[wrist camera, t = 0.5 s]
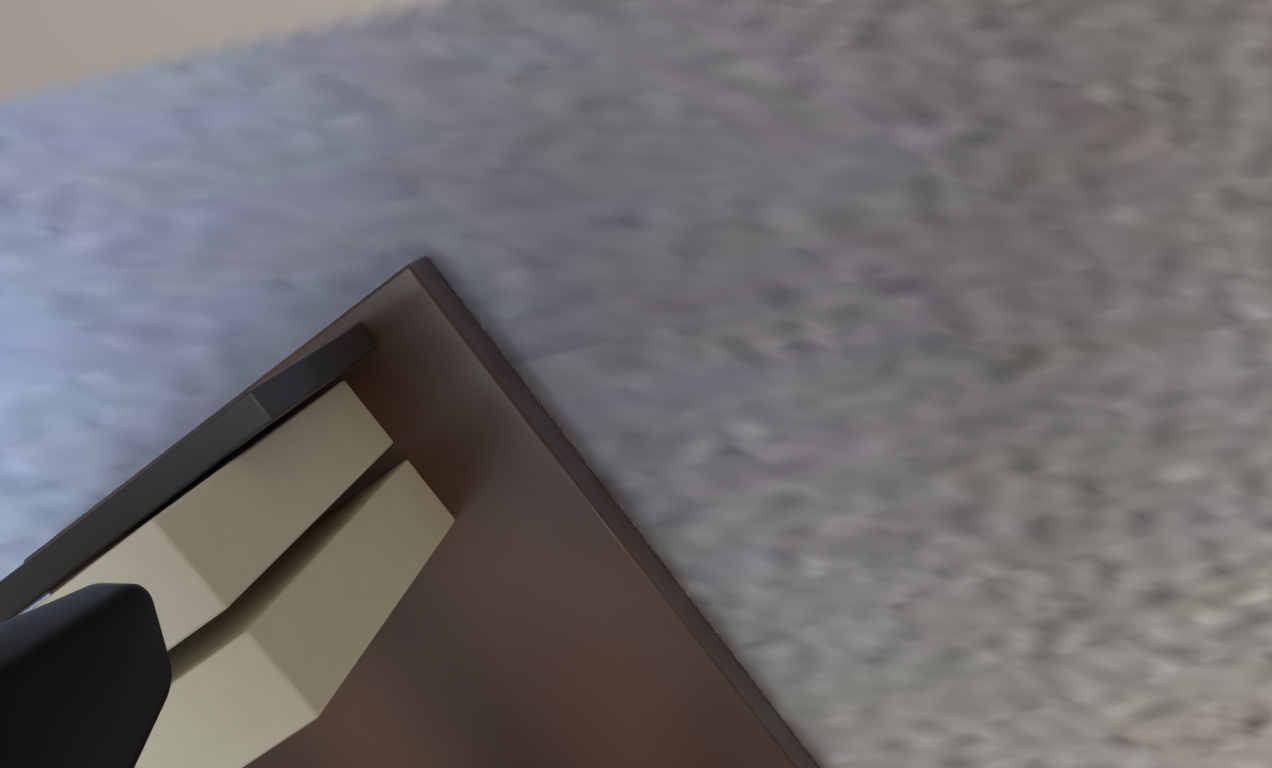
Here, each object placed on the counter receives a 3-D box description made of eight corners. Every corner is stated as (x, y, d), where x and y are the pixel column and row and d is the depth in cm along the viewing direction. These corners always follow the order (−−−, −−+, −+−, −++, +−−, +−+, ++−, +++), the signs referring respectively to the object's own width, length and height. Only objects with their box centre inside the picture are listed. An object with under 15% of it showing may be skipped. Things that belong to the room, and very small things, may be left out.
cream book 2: (243, 667, 25) (31, 909, 18) (194, 610, 25) (-40, 831, 18) (457, 519, 24) (319, 717, 16) (407, 457, 23) (246, 630, 16)
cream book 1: (183, 596, 25) (-58, 811, 18) (133, 537, 25) (-132, 731, 17) (395, 441, 23) (227, 609, 16) (344, 378, 23) (151, 518, 16)
